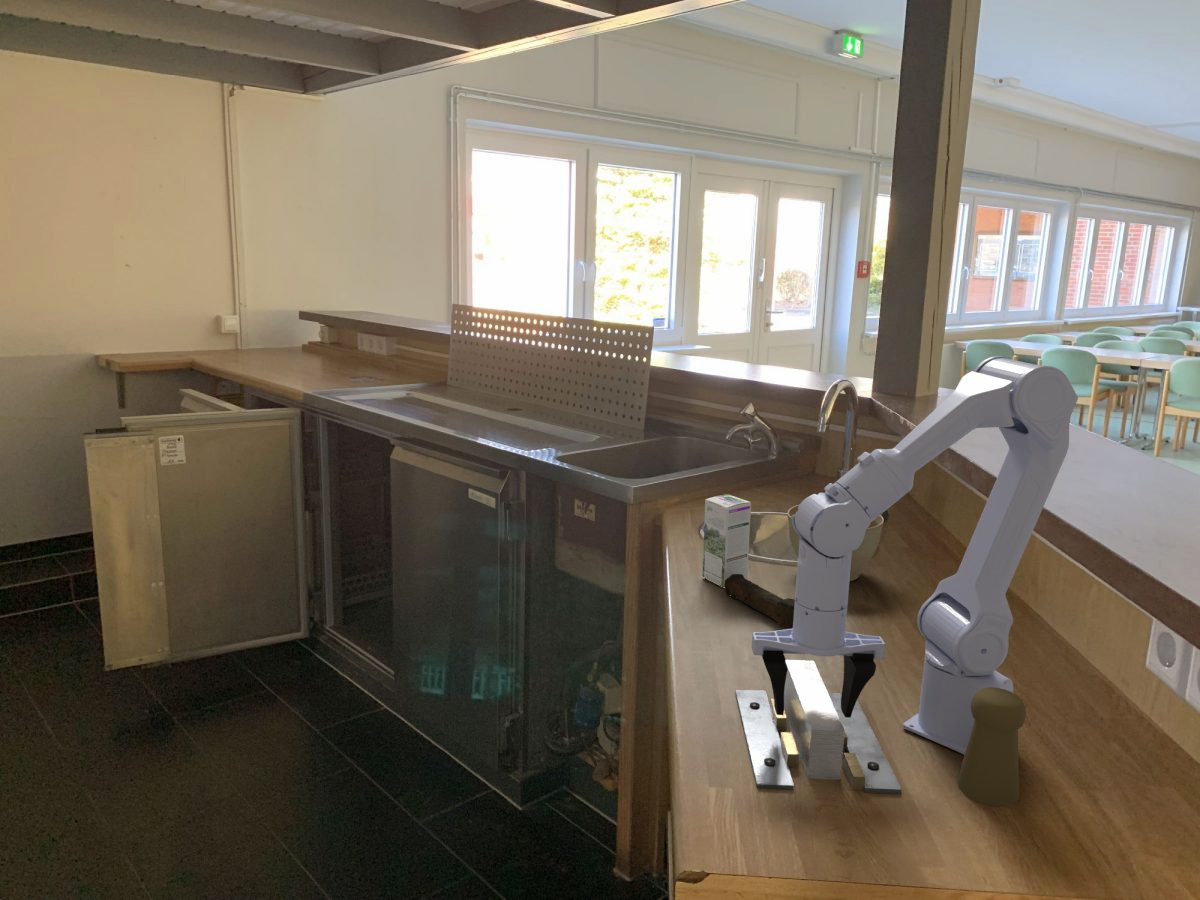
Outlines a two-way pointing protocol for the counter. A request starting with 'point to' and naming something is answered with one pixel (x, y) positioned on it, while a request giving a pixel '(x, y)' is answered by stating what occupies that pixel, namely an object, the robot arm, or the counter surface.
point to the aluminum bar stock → (813, 721)
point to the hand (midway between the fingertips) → (812, 711)
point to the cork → (993, 748)
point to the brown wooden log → (761, 600)
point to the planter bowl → (859, 555)
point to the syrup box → (726, 538)
